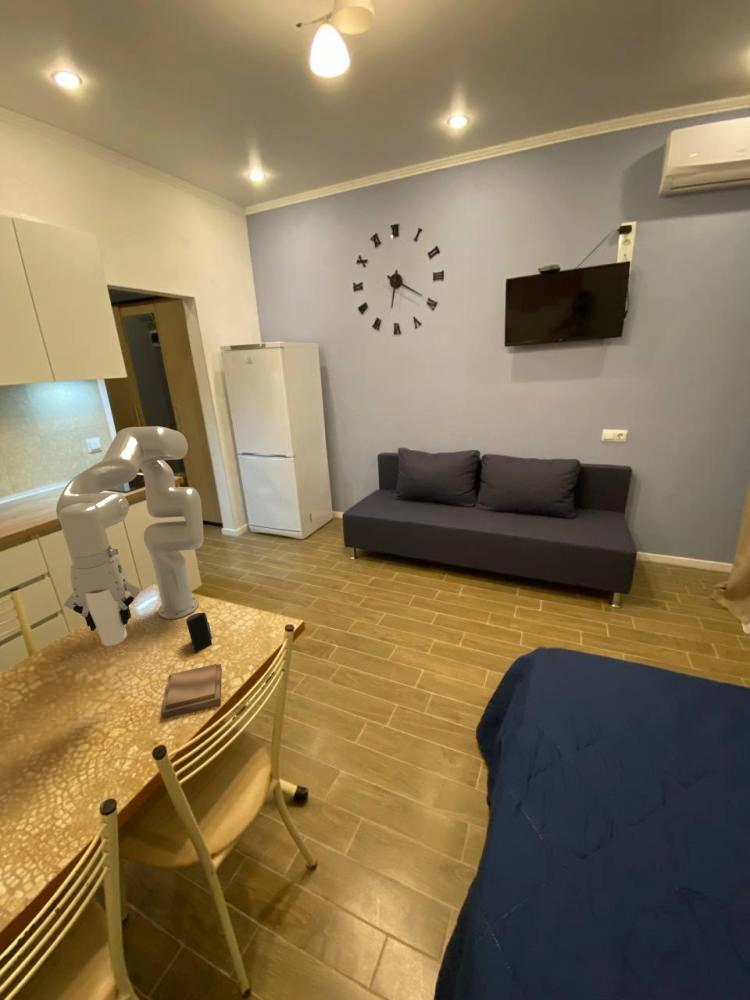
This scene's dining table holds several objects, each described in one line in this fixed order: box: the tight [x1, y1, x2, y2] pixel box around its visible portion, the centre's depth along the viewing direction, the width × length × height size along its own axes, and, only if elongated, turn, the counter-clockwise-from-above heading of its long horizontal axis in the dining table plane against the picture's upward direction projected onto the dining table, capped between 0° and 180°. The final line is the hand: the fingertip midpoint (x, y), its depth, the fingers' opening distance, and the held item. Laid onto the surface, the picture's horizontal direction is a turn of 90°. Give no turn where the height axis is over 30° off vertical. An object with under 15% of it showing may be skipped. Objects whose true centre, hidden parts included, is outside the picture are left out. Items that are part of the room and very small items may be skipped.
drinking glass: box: [86, 590, 128, 647], centre depth 100 cm, size 7×7×15 cm
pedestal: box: [161, 663, 223, 720], centre depth 107 cm, size 13×13×3 cm
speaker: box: [185, 612, 213, 654], centre depth 125 cm, size 8×6×10 cm
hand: (110, 623), depth 101 cm, fingers closed on drinking glass, 6 cm apart
